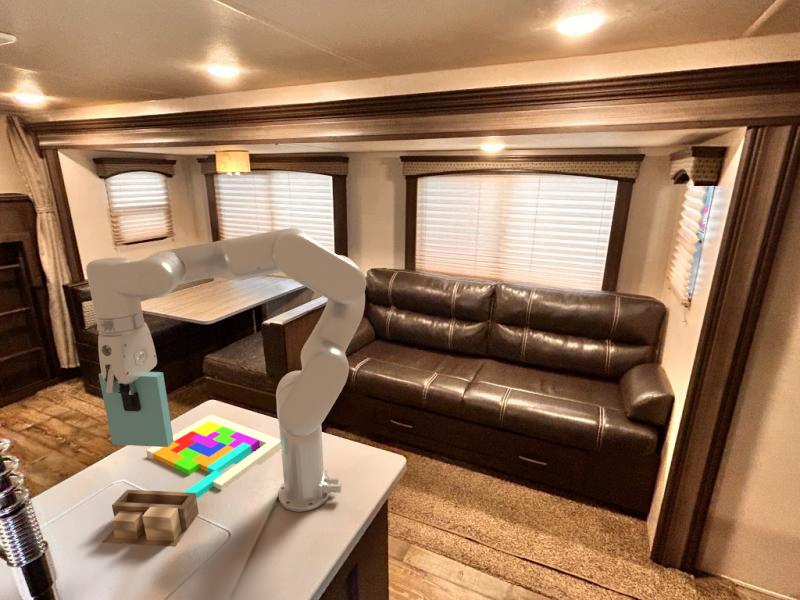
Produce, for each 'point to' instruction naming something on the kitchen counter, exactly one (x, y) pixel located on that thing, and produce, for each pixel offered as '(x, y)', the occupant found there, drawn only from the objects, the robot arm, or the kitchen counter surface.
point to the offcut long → (162, 523)
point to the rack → (147, 499)
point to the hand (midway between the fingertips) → (137, 406)
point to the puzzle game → (216, 451)
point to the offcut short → (128, 525)
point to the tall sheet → (140, 414)
